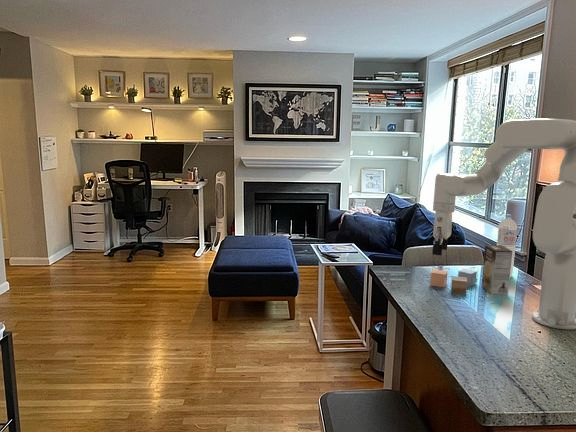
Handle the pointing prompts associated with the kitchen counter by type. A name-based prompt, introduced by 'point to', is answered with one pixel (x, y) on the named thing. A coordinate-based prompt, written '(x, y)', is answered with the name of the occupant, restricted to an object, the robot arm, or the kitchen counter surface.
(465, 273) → the slate cube
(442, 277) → the terracotta cube
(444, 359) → the kitchen counter surface
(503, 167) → the robot arm
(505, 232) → the water bottle
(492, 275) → the coffee box
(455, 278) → the walnut cube
